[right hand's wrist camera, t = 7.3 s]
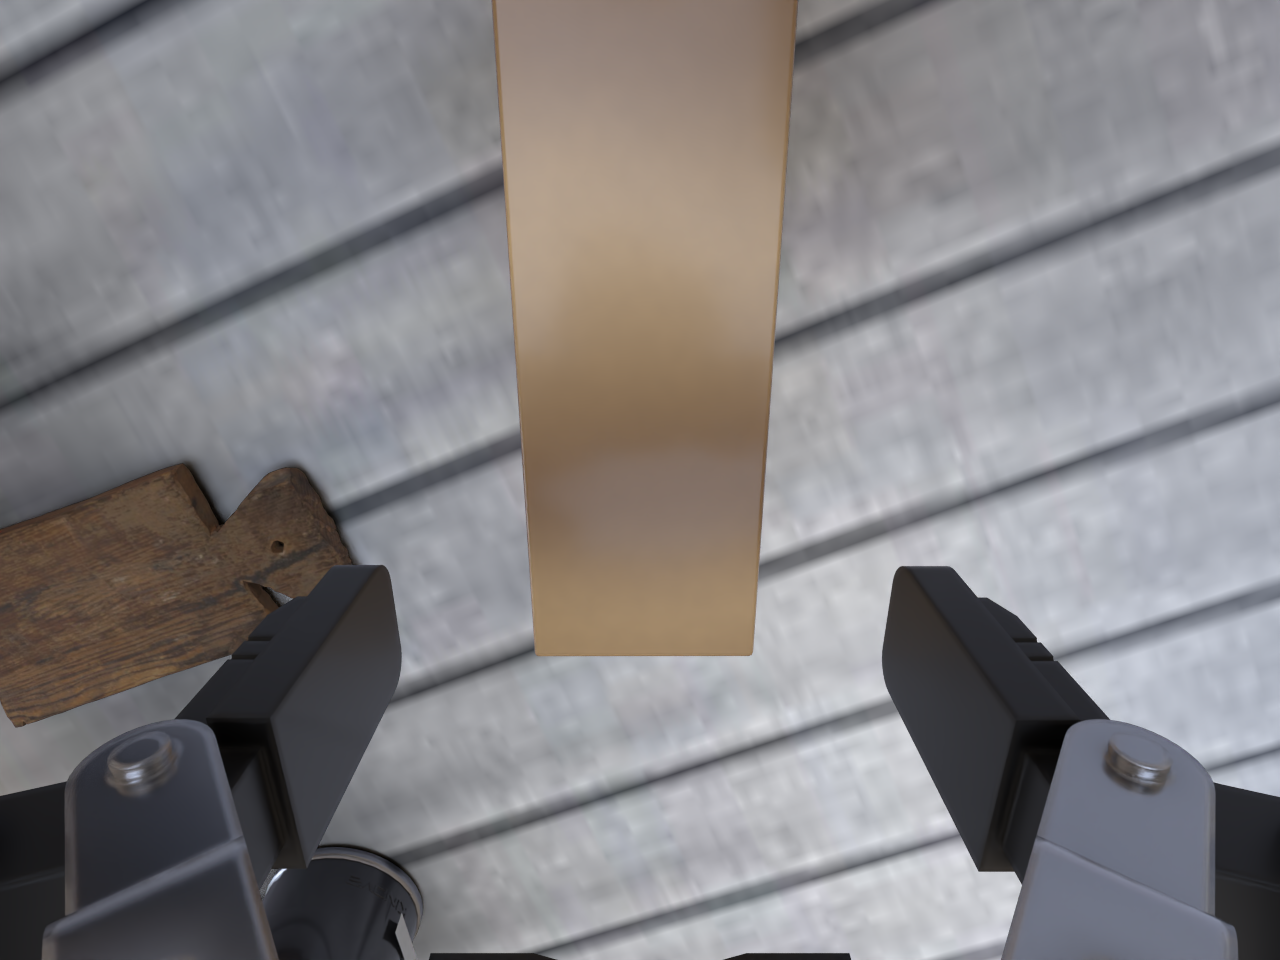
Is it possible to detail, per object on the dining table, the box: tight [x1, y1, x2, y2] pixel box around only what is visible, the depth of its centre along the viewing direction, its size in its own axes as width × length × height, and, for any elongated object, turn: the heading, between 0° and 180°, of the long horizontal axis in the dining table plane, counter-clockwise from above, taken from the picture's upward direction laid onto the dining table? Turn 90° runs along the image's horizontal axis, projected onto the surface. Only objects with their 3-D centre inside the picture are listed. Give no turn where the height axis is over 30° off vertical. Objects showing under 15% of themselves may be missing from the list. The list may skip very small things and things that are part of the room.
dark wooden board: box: [0, 463, 352, 727], centre depth 35 cm, size 26×2×10 cm
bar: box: [492, 0, 798, 656], centre depth 14 cm, size 24×5×8 cm, turn 0°
